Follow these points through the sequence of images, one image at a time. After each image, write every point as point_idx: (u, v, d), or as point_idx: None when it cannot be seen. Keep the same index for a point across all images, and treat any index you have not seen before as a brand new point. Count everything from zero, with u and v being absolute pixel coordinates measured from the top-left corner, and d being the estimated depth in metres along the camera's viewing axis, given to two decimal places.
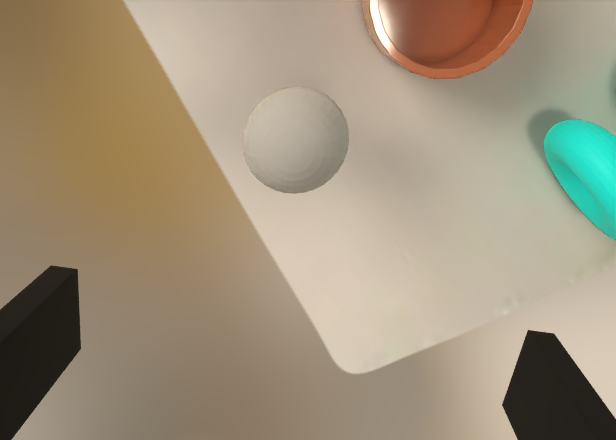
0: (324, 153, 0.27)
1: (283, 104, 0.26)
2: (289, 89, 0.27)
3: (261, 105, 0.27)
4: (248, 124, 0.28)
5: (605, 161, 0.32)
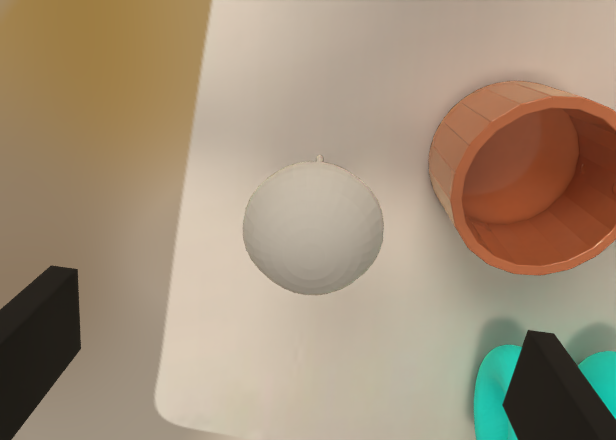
0: (340, 277, 0.20)
1: (339, 195, 0.20)
2: (353, 178, 0.21)
3: (312, 173, 0.20)
4: (282, 180, 0.20)
5: None
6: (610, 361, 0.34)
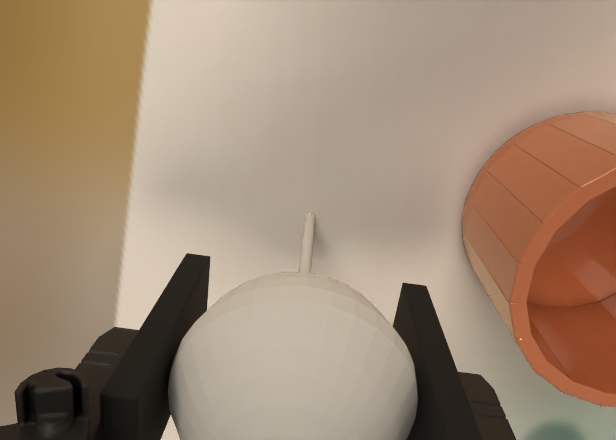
0: None
1: (339, 361, 0.10)
2: (363, 316, 0.11)
3: (289, 311, 0.11)
4: (233, 326, 0.11)
5: None
6: None
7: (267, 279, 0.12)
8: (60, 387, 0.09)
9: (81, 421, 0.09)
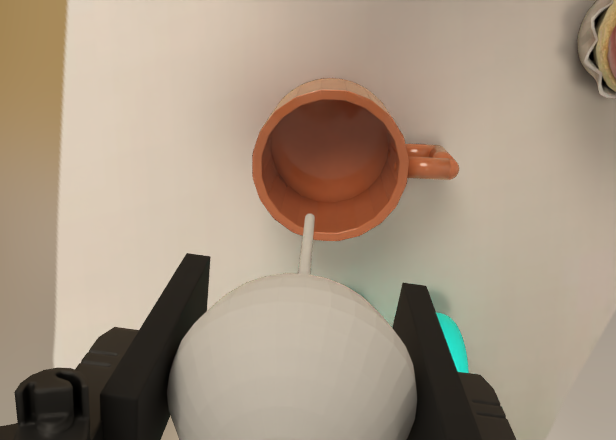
0: None
1: (338, 363, 0.10)
2: (363, 318, 0.11)
3: (288, 313, 0.11)
4: (232, 327, 0.11)
5: None
6: None
7: (266, 280, 0.12)
8: (60, 387, 0.09)
9: (81, 421, 0.09)
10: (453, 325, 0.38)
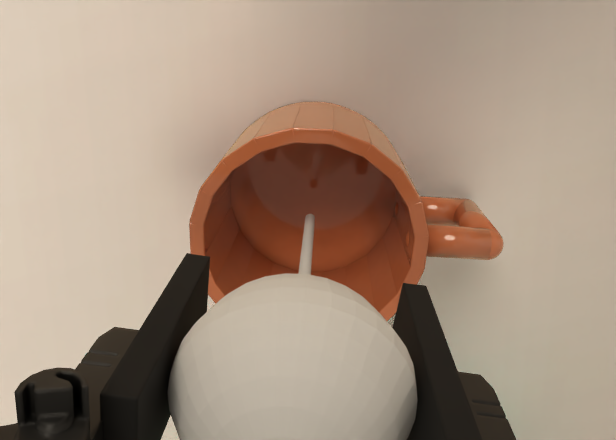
0: None
1: (339, 363, 0.10)
2: (363, 318, 0.11)
3: (288, 313, 0.11)
4: (233, 327, 0.11)
5: None
6: None
7: (267, 280, 0.12)
8: (60, 387, 0.09)
9: (81, 421, 0.09)
10: None
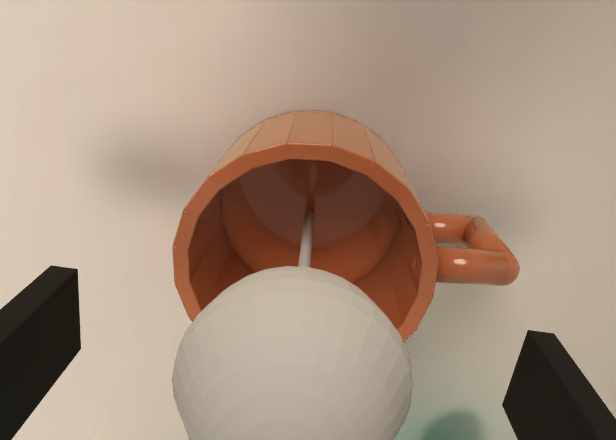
0: None
1: (336, 349, 0.11)
2: (360, 308, 0.12)
3: (288, 303, 0.12)
4: (235, 316, 0.12)
5: None
6: None
7: (268, 273, 0.13)
8: None
9: None
10: None
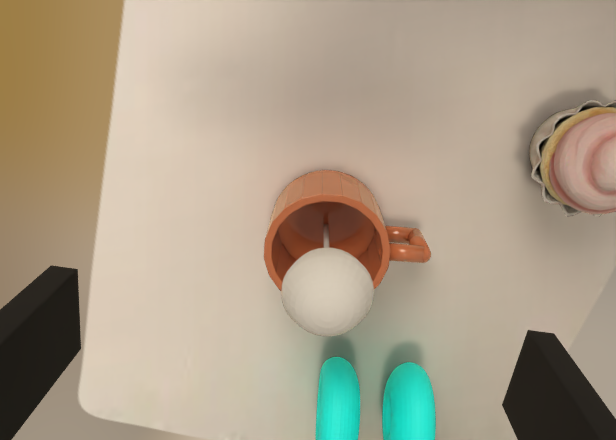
0: (346, 326, 0.32)
1: (346, 275, 0.31)
2: (354, 262, 0.33)
3: (329, 259, 0.32)
4: (310, 263, 0.32)
5: (338, 415, 0.42)
6: (403, 369, 0.47)
7: (319, 249, 0.33)
8: None
9: None
10: (424, 376, 0.45)
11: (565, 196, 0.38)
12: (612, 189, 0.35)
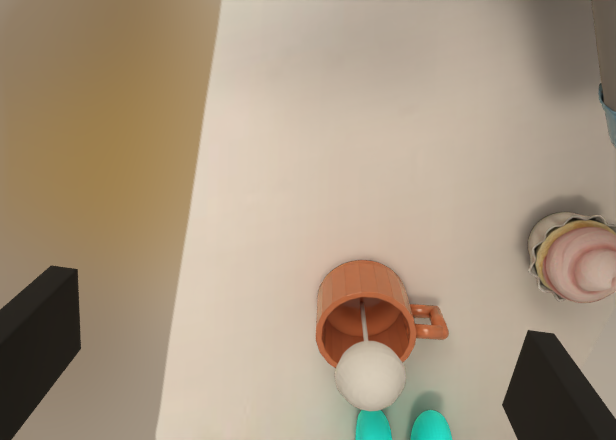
0: (385, 405, 0.42)
1: (385, 367, 0.42)
2: (391, 355, 0.43)
3: (372, 354, 0.42)
4: (357, 358, 0.42)
5: None
6: (427, 418, 0.57)
7: (363, 344, 0.44)
8: None
9: None
10: (444, 424, 0.56)
11: (555, 290, 0.48)
12: (591, 290, 0.45)
